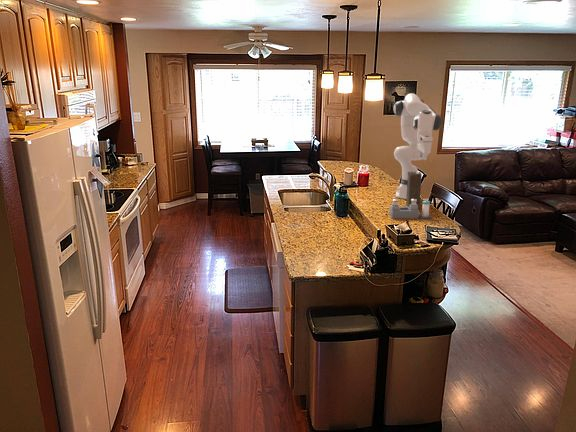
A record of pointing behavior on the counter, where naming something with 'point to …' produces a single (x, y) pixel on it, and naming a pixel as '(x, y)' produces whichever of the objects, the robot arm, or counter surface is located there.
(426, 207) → the cartridge
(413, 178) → the grey upright box
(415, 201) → the plunger
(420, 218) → the mat
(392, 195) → the counter surface
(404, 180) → the robot arm
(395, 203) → the plunger
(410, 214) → the housing
